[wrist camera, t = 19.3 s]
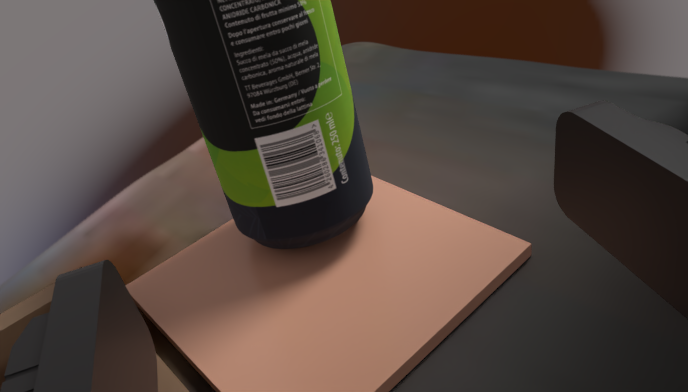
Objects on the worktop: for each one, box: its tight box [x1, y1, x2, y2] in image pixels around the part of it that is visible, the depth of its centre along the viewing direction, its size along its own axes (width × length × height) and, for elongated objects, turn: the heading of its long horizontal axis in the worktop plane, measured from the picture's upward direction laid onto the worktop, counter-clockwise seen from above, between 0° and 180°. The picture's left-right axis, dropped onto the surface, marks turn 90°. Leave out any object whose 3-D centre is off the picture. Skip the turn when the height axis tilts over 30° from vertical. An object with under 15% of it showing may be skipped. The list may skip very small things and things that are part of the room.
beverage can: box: [154, 0, 373, 249], centre depth 22 cm, size 6×6×15 cm
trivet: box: [126, 176, 531, 392], centre depth 23 cm, size 12×12×1 cm
